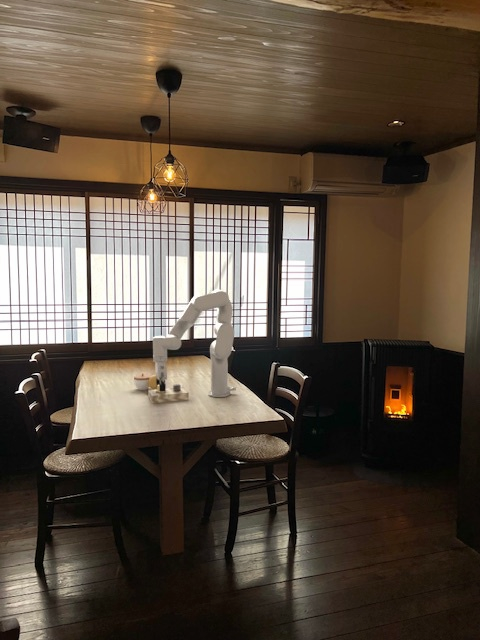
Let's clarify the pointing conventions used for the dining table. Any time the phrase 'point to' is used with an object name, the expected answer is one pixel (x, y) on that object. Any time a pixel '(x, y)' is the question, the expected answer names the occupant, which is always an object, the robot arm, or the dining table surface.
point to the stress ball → (152, 382)
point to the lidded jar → (142, 381)
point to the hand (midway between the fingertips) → (160, 389)
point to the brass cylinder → (159, 389)
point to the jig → (169, 394)
